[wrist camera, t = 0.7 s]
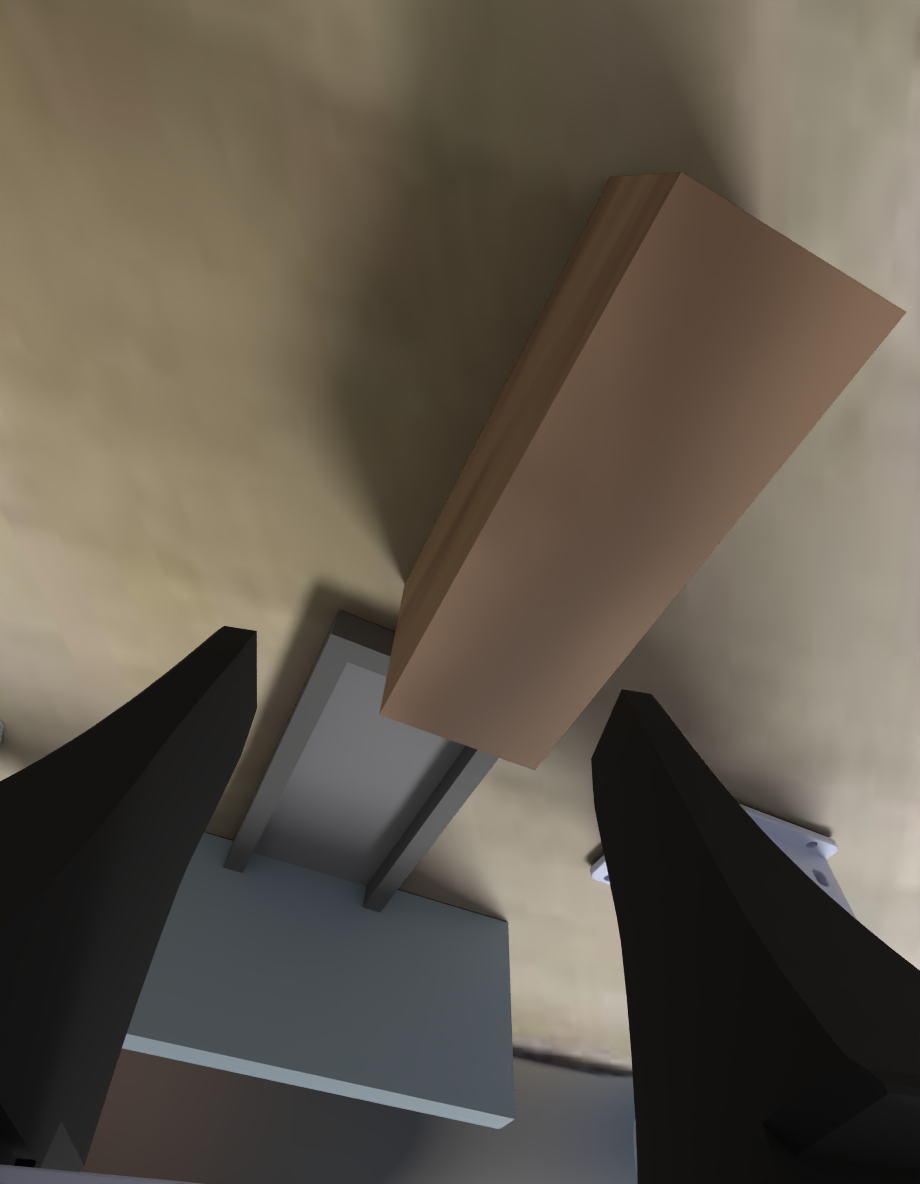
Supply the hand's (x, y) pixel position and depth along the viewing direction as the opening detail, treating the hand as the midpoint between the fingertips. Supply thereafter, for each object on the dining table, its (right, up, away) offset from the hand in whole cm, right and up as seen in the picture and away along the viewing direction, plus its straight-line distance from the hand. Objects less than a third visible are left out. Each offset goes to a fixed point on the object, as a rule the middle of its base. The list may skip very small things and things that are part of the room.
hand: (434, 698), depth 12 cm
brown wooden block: (+4, +7, +8) cm, 11 cm away
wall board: (-4, -7, +17) cm, 19 cm away
